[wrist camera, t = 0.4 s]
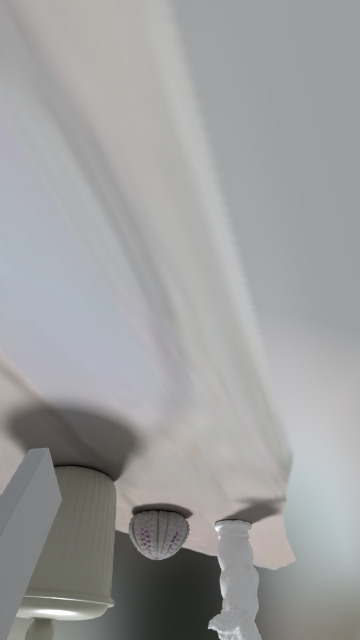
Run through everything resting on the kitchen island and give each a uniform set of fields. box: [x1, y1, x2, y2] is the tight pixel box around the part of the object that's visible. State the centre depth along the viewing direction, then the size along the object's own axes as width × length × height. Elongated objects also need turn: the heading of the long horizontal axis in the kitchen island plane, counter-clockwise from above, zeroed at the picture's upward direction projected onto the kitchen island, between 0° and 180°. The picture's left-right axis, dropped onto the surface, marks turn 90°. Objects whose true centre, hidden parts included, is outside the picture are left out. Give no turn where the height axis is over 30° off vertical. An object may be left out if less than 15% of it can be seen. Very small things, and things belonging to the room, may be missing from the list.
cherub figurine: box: [208, 520, 262, 640], centre depth 66 cm, size 12×12×22 cm
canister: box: [16, 466, 116, 640], centre depth 48 cm, size 18×18×21 cm
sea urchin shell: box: [129, 510, 190, 560], centre depth 69 cm, size 13×14×8 cm
